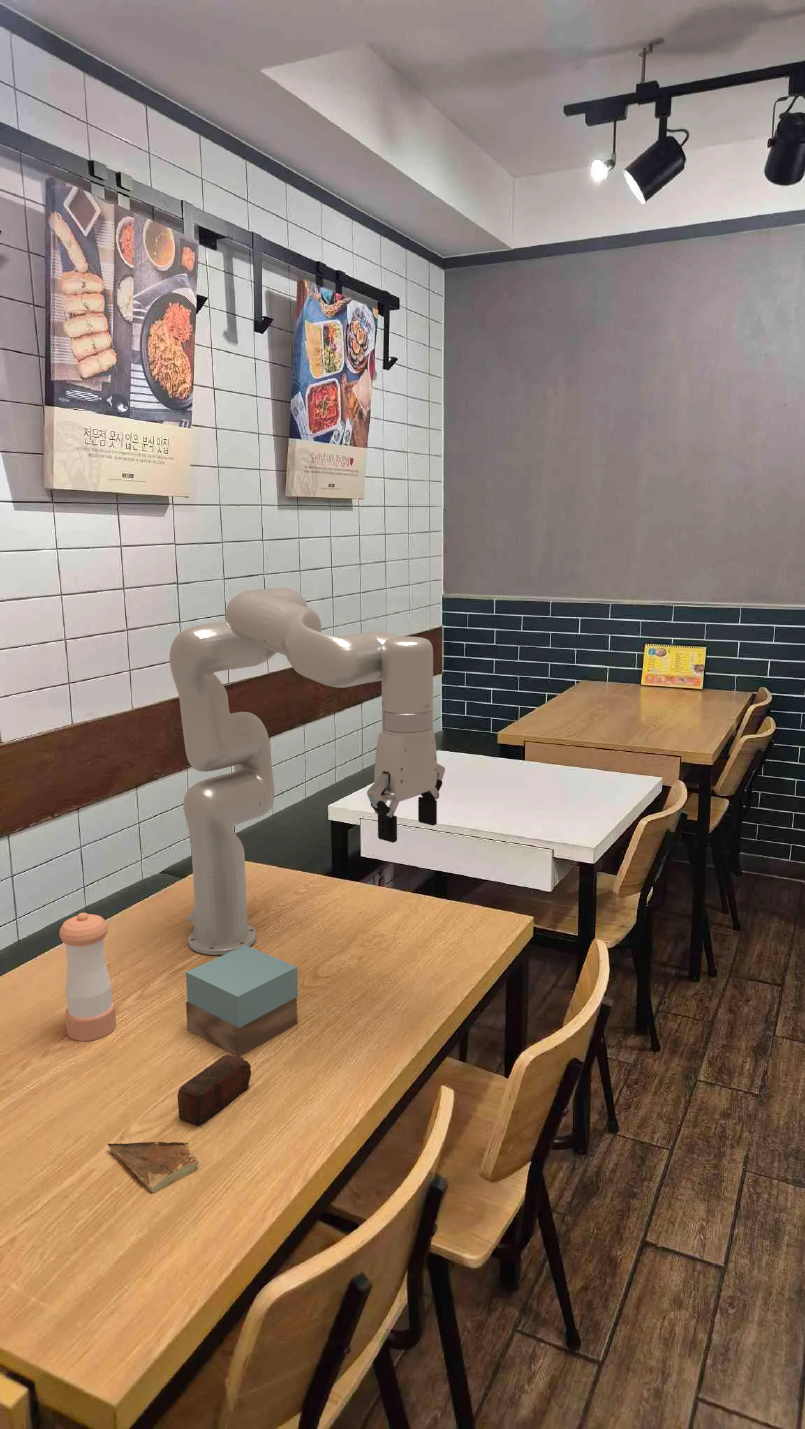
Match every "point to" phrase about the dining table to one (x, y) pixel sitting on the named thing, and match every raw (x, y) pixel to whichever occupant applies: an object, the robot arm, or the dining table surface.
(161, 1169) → the shard
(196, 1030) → the tower base
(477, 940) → the dining table surface
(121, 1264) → the dining table surface
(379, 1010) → the dining table surface
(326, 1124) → the dining table surface
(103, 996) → the salt shaker
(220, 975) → the tower top
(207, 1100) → the brick
